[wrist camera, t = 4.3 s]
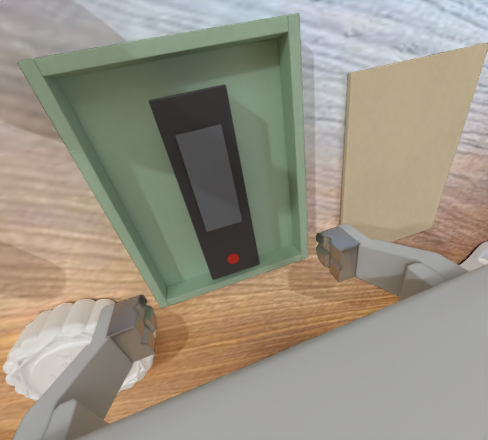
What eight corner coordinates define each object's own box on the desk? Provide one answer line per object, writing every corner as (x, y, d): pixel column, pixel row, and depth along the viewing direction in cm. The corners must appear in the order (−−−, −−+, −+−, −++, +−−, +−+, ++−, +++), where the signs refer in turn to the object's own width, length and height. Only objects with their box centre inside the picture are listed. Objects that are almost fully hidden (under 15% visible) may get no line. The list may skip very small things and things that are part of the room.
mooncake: (-2, 362, 22) (-31, 405, 19) (61, 278, 19) (41, 312, 16) (119, 380, 28) (112, 415, 25) (177, 318, 25) (178, 348, 22)
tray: (284, 22, 15) (300, 12, 13) (298, 245, 25) (308, 257, 24) (37, 66, 13) (15, 61, 11) (161, 292, 23) (160, 309, 21)
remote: (216, 86, 16) (226, 83, 13) (249, 243, 23) (261, 265, 20) (152, 99, 15) (147, 100, 12) (207, 257, 22) (213, 282, 19)
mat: (485, 43, 20) (490, 42, 20) (428, 226, 30) (431, 228, 30) (347, 73, 18) (351, 72, 18) (337, 259, 28) (339, 261, 28)
